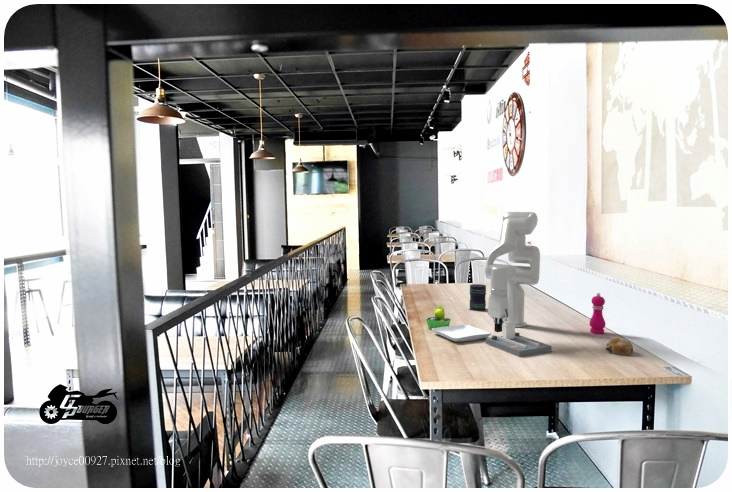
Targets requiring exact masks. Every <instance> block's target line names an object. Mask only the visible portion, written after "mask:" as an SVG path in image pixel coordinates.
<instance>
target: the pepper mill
mask: <svg viewBox="0 0 732 492" xmlns="http://www.w3.org/2000/svg"><path fill="white" fill-rule="evenodd" d="M605 303H606V299H605V298H604V297H603V296H601V293H599V292H596V294H595V296H592V298H591V304H592V310H593V311H592V312H593V313H592V316H591V318H590V320H589V324H588V325H589V326H590V329H589V332H590V333H591V334H594V335H595V334H596V335H604V334H605V329H604V328H605V327H606V320H605V319H604V315H603V310H604V305H605Z"/></svg>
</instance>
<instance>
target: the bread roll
mask: <svg viewBox="0 0 732 492" xmlns="http://www.w3.org/2000/svg"><path fill="white" fill-rule="evenodd" d="M605 350H606V351H607V352H608V353H610V354H613V355H618V356H633V355H634V353H633V352H634V346H633V344H632V343H631V341H629V340H627V339H626V338H622V337H617V338H616V337H615V338H613V339H611V340H610V341H608V343H606V347H605Z"/></svg>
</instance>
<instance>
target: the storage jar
mask: <svg viewBox="0 0 732 492" xmlns="http://www.w3.org/2000/svg"><path fill="white" fill-rule="evenodd" d="M486 295H487V286H486V285H485V284H480V283H479V284H476V283H475V284H470V285H469V296H470V297H469V310H470V311H472V312H473V311H474V312H485V311H486V309H487V308H486V306H487V300H486Z"/></svg>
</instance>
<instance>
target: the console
mask: <svg viewBox="0 0 732 492" xmlns="http://www.w3.org/2000/svg"><path fill="white" fill-rule="evenodd" d="M485 344H486V345H488V346H491V347H494V348H495V349H498V350H501V351H503V352H506V353H509V354H511V355H512V356H513V355H514V356H515V357H518V358H519V357H520V358H521V357H524V356H525V357H526V356H532V355H539V354H543V353H551V352H552V350H553V345H551V344H550V345H549V344H547V343H543V342H541V341H538V340H535V339H532V338H529V337H527V336H523V335H520V332H516V331H515V338H514V339H506V338H503V335H501V336H500V335H495V334H493V335H492V334H491V337H486V338H485Z"/></svg>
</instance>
